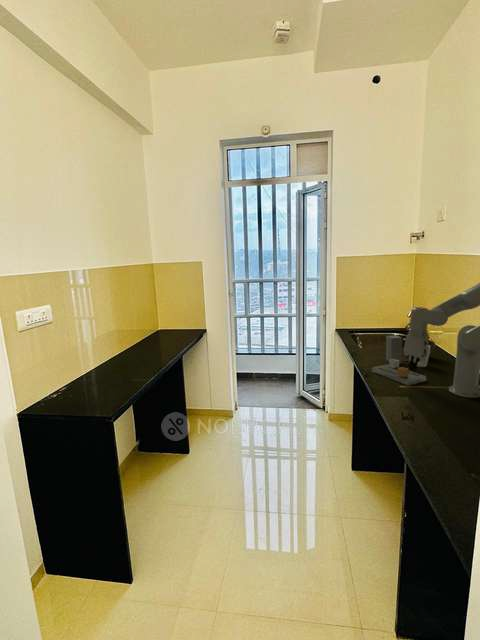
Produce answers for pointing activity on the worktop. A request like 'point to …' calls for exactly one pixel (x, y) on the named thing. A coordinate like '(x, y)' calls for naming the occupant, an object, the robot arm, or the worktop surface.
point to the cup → (424, 363)
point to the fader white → (393, 363)
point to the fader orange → (402, 372)
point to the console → (392, 374)
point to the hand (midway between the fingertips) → (412, 369)
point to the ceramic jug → (428, 342)
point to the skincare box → (394, 348)
